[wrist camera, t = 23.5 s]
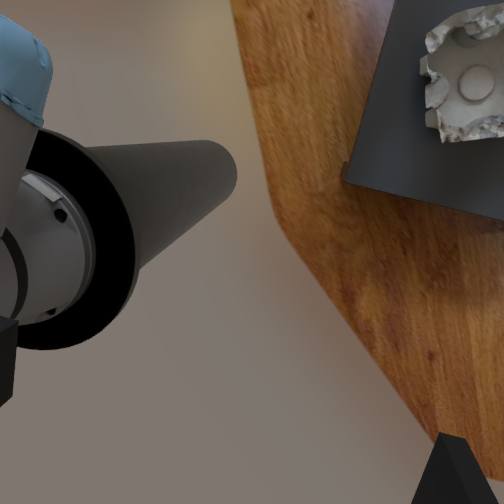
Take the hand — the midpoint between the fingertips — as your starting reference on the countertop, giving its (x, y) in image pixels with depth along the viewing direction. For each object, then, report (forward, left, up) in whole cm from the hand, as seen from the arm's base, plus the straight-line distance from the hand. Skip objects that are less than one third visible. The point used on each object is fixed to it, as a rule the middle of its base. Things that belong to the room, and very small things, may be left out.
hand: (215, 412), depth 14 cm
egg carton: (+12, +15, -21) cm, 29 cm away
